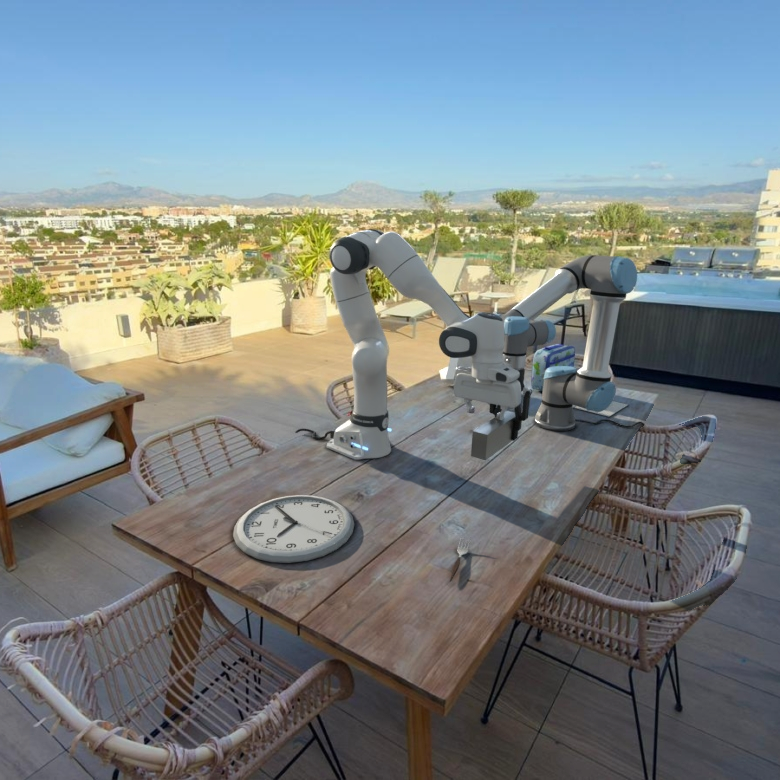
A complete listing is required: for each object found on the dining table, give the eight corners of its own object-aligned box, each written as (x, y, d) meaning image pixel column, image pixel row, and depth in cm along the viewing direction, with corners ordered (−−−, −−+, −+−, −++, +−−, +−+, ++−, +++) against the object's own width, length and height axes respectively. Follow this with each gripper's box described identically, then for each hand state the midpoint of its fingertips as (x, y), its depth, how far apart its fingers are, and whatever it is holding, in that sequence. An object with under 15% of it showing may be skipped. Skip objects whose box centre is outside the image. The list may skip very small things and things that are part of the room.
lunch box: (547, 396, 238) (552, 351, 232) (526, 391, 246) (531, 347, 239) (574, 385, 256) (579, 343, 250) (554, 380, 263) (559, 340, 257)
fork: (443, 582, 112) (444, 574, 112) (460, 542, 127) (460, 535, 126) (455, 584, 112) (456, 576, 111) (471, 544, 126) (471, 537, 125)
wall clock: (355, 554, 119) (220, 559, 116) (355, 560, 119) (221, 565, 117) (353, 490, 147) (244, 493, 145) (353, 495, 148) (245, 498, 145)
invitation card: (608, 416, 214) (573, 407, 224) (608, 416, 214) (573, 408, 224) (628, 404, 229) (594, 396, 238) (628, 405, 229) (594, 397, 238)
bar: (504, 433, 173) (506, 410, 170) (517, 437, 170) (519, 413, 168) (470, 456, 155) (472, 430, 153) (485, 460, 153) (487, 434, 150)
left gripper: (450, 367, 152) (449, 411, 156) (515, 378, 140) (512, 426, 145) (460, 362, 157) (459, 406, 161) (525, 373, 145) (522, 419, 149)
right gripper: (481, 364, 164) (476, 433, 171) (535, 374, 154) (528, 447, 161) (491, 360, 170) (486, 427, 177) (545, 369, 159) (537, 440, 166)
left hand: (485, 415), depth 153 cm, fingers open, 8 cm apart
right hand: (506, 436), depth 169 cm, fingers closed on bar, 5 cm apart
